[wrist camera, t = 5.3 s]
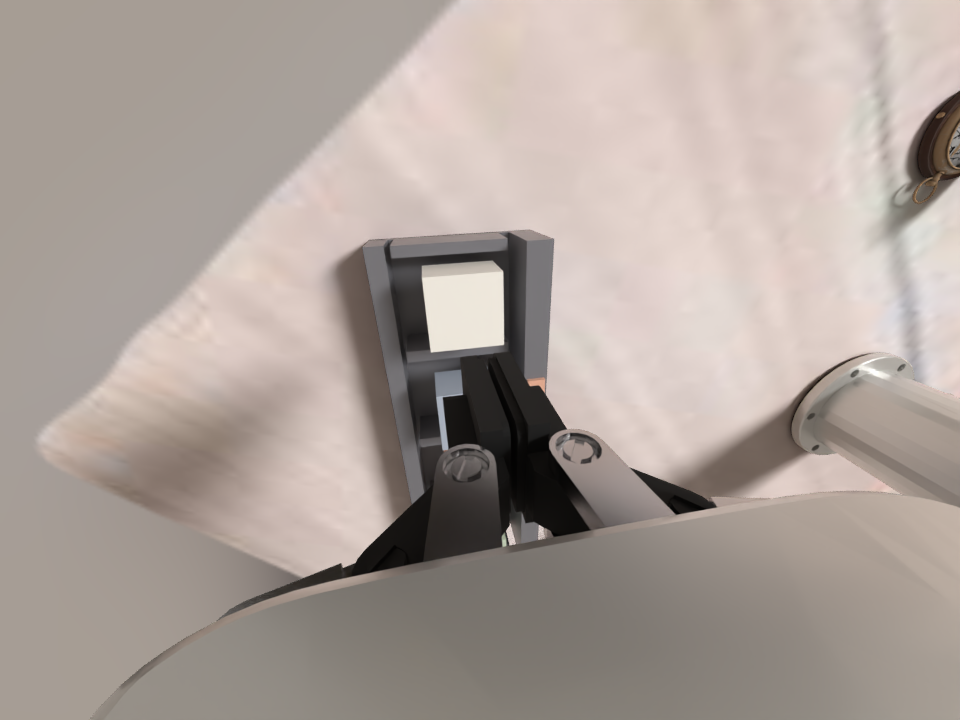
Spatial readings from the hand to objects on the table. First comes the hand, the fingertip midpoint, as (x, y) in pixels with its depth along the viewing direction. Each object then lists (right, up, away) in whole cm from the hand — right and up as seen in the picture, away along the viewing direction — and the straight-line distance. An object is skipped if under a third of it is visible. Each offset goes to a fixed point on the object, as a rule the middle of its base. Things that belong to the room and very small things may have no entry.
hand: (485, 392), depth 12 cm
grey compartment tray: (-2, -3, +18) cm, 19 cm away
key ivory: (-2, +5, +10) cm, 12 cm away
